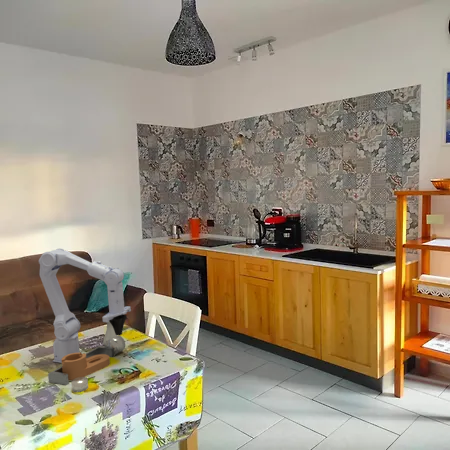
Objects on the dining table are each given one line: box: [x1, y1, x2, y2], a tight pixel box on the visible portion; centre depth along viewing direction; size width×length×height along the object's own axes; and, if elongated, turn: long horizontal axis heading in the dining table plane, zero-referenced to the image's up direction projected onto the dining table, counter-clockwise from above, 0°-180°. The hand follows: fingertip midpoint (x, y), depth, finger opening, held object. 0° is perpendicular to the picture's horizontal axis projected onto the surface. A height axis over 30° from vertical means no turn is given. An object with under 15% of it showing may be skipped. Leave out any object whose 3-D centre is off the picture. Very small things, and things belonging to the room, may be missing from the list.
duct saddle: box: [47, 335, 126, 386], centre depth 154 cm, size 10×30×7 cm, turn 156°
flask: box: [102, 322, 118, 345], centre depth 178 cm, size 7×7×10 cm
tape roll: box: [71, 376, 89, 393], centre depth 136 cm, size 5×5×3 cm
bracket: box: [61, 352, 111, 381], centre depth 151 cm, size 18×8×7 cm, turn 142°
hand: (118, 334), depth 158 cm, fingers closed
